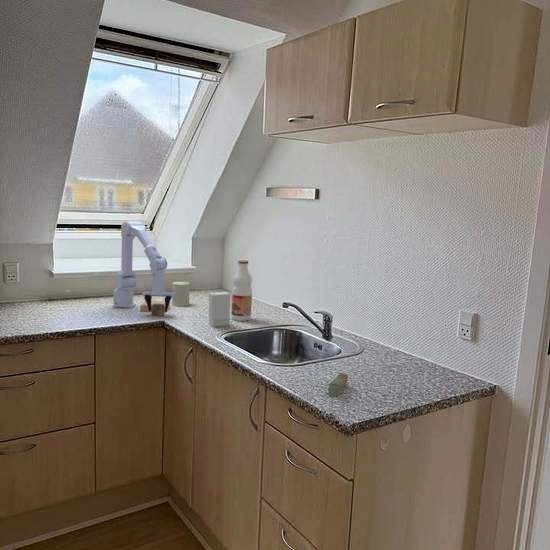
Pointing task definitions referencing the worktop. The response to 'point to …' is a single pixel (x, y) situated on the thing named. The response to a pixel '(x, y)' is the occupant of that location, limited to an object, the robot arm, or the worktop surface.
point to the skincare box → (219, 309)
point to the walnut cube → (157, 309)
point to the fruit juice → (241, 293)
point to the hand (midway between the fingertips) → (158, 311)
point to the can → (180, 293)
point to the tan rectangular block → (145, 307)
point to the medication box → (338, 384)
